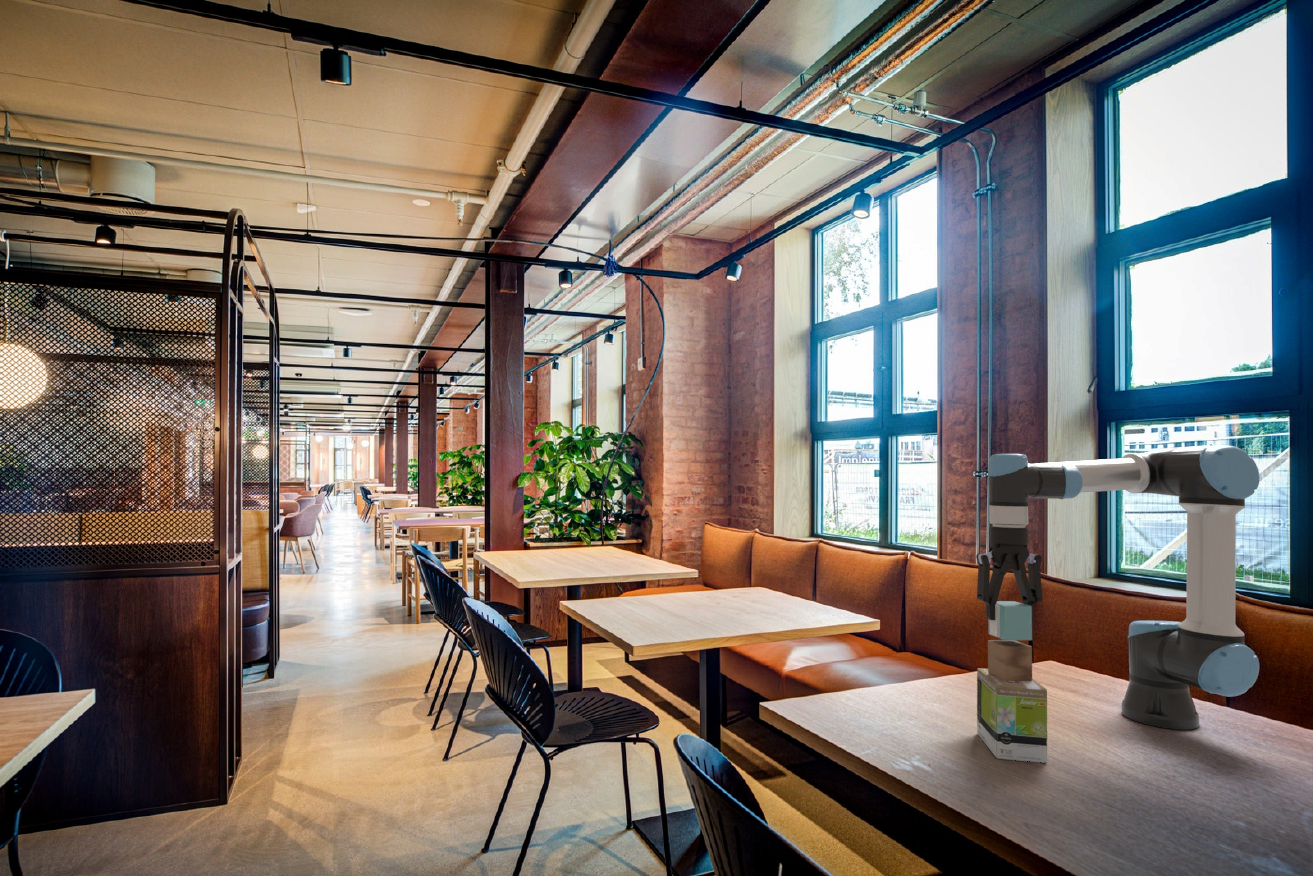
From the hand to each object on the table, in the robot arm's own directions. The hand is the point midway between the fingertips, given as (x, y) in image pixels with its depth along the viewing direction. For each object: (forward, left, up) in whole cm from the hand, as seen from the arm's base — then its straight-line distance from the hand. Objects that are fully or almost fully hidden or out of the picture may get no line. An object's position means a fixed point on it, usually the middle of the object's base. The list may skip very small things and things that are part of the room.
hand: (1010, 635), depth 151 cm
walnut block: (0, 0, -9) cm, 9 cm away
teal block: (0, 0, 0) cm, 0 cm away
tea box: (0, 0, -24) cm, 24 cm away
